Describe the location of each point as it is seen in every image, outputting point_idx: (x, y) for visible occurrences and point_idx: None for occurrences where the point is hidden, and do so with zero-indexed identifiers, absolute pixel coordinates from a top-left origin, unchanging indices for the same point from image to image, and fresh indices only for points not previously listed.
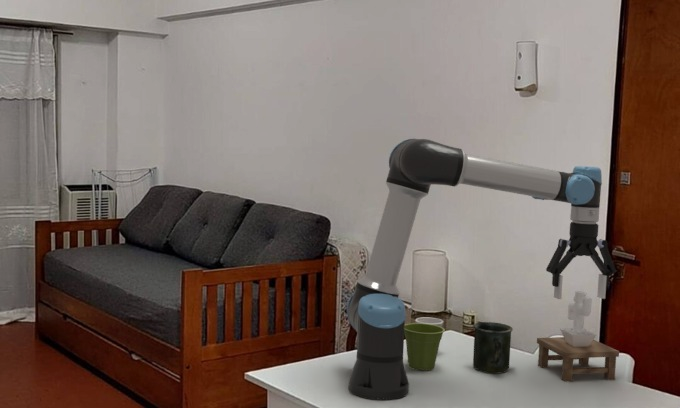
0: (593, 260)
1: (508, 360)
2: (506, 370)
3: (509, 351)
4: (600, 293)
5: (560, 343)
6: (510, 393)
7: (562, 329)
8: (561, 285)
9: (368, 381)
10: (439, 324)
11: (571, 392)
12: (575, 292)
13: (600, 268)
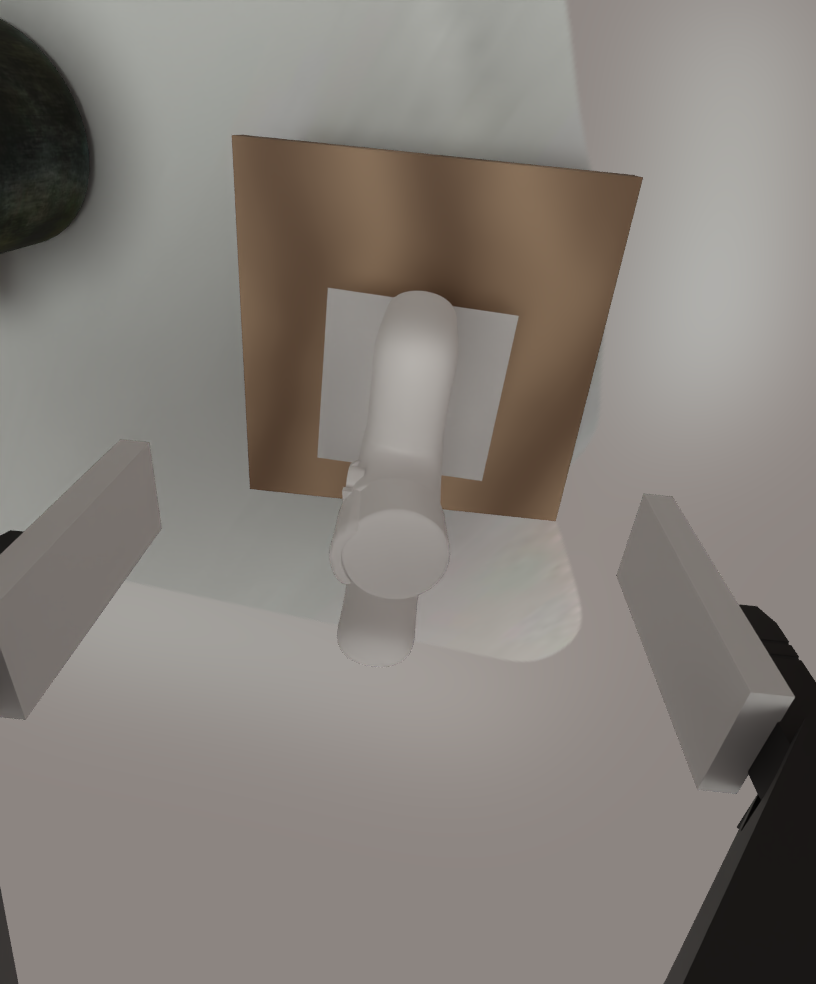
0: (691, 961)
1: (43, 229)
2: (61, 230)
3: (18, 230)
4: (640, 566)
5: (323, 314)
6: (12, 483)
7: (334, 312)
8: (87, 620)
9: None
10: None
11: (249, 524)
12: (332, 539)
13: (740, 840)
